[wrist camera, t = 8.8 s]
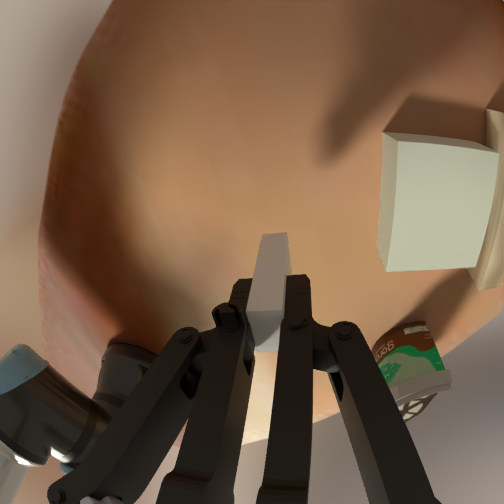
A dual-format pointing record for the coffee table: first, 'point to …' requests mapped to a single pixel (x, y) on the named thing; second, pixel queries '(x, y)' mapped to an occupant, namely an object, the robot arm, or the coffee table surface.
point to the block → (434, 201)
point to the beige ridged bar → (493, 214)
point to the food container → (411, 367)
